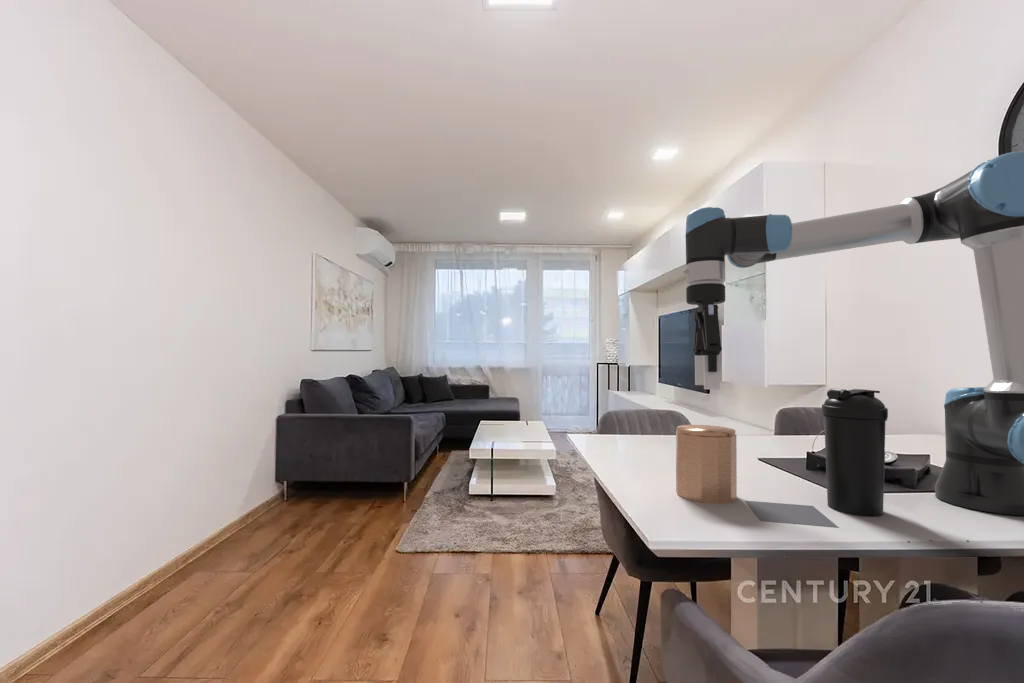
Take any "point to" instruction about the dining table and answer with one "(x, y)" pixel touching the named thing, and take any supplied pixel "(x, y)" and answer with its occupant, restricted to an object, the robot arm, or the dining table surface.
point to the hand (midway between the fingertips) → (706, 387)
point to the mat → (789, 514)
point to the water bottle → (855, 451)
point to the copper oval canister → (706, 463)
